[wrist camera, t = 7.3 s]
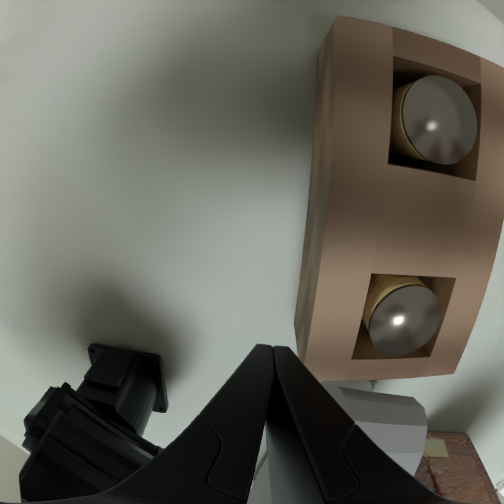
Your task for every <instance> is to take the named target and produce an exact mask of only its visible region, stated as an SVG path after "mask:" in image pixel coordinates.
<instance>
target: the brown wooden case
mask: <svg viewBox="0 0 504 504" xmlns="http://www.w3.org/2000/svg"><path fill="white" fill-rule="evenodd" d="M414 477H415V478H416V479H417V480H418V481H420V482H421V483H422V484H423V485H425V486H426V487H427V488H428V489H430V490H431V491H433V492H434V493H436V494H437V495H439V496H441V497H443V498H446V499H448V500H452V501H456V502H465V503H476V504H501V502H500V500H499V497H498V495H497V493H496V491H495V489H494V486H493V484H492V482H491V480H490V478H489V476H488V474H487V472H486V469H485V467H484V465H483V463H482V461H481V459H480V457H479V455H478V453H477V451H476V449H475V447H474V445H473V444H472V442H471V440H470V438H469V436H468V434H466V433H443V432H427V435H426V441H425V447H424V453H423V455H422V458H421V460H420V463H419V465H418V468H417V470H416V472H415V475H414Z"/></svg>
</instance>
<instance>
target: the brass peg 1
mask: <svg viewBox="0 0 504 504" xmlns="http://www.w3.org/2000/svg"><path fill="white" fill-rule="evenodd" d="M476 135H477V118H476V114H475V110H474V107H473V105H472V102H471V101H470V99H469V97H468V96H467V94H466V93H465V92H464V90H463V89H462V88H461V87H460V86H459V85H458V84H456V83H455V82H453V81H452V80H450V79H448V78H445V77H442V76H435V75H433V76H427V77H423V78H421V79H419V80H417V81H415V82H412V83H410V84H407V85H404V86H401V87H399V88H396V89H393V90H392V113H391V129H390V143H389V154H390V155H395V156H402V157H409V158H415V159H421V160H427V161H431V162H434V163H438V164H453V163H456V162H459V161H460V160H462V159H463V158H465V157H466V156H467V155H468V153H469V152H470V151H471V149H472V147H473V145H474V142H475V139H476Z"/></svg>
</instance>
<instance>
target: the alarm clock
mask: <svg viewBox="0 0 504 504" xmlns="http://www.w3.org/2000/svg"><path fill="white" fill-rule="evenodd" d="M319 382H320V383H321V384H322V386H323V387H324V388H325V389H326V390H327V391H328V392H329V393H330V395H331V396H332V397H333V398H334V399H335V400H336V401H337V402H338V404H339V405H340V406H341V407H342V408H343V409H344V410H345V411H346V413H347V414H348V415H349V416H350V417H351V418H352V419H353V420H354V421H355V423H356V424H357V425H358V426H359V427H360V428H361V429H362V430H363V431H364V432H365V433H366V434H367V435H368V436H369V437H370V438H371V439H372V441H373V442H374V443H375V444H376V445H377V446H378V447H379V448H381V449H382V450H383V451H384V452H385V453H386V454H387V455H388V456H389V457H391V458H392V459H393V460H394V461H395V462H396V463H398V464H399V465H400V466H401V467H402V468H404V469H405V470H406V471H407V472H409V473H410V474H411V475H412V476H413V477H414V475H415V472H416V470H417V468H418V465H419V463H420V460H421V458H422V455H423V453H424V447H425V441H426V435H427V428H428V426H427V420H426V415H425V410H424V407H423V406H422V405H421V404H420V403H419V402H418V401H417V400H416V399H415V398H413V397H408V396H400V395H392V394H384V393H377V392H373V391H372V385H371V382H370V381H368V380H351V381H319ZM356 424H355V425H356ZM247 504H272V501H271V489H270V477H269V466H268V456H267V458H266V459H265V461H264V463H263V465H262V467H261V469H260V471H259V472H258V474H257V475H256V479H255V481H254V484H253V486H252V488H251V490H250V493H249V497H248V501H247Z"/></svg>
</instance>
